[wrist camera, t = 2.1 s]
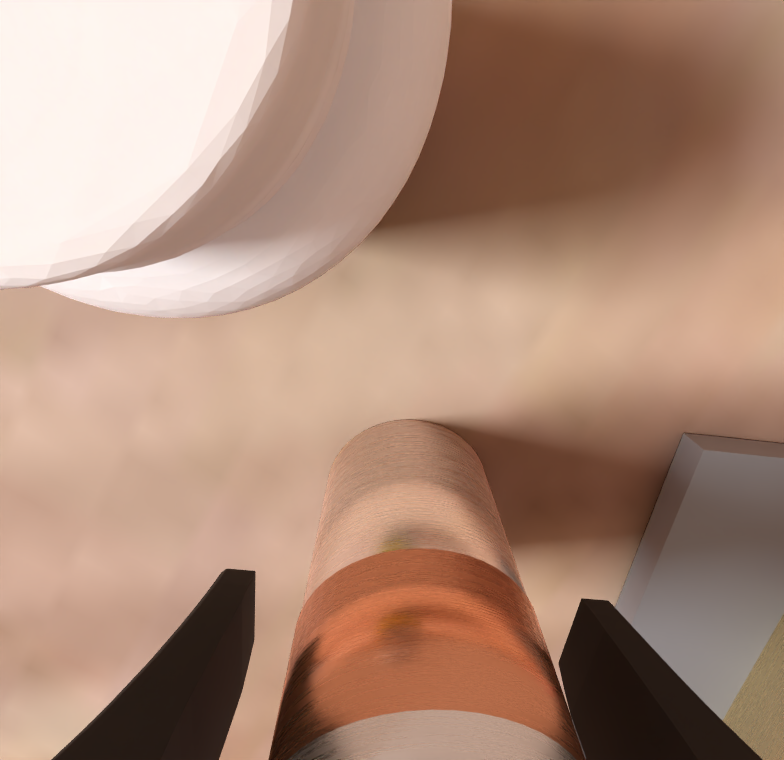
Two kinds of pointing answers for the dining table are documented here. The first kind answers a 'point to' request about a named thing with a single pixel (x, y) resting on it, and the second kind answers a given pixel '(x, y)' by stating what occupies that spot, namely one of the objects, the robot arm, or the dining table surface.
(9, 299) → the dining table surface
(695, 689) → the socket base
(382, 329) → the dining table surface
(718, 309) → the dining table surface
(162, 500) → the dining table surface
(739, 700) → the square hollow frame
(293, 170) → the supplement bottle
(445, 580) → the silver tin
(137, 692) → the robot arm
